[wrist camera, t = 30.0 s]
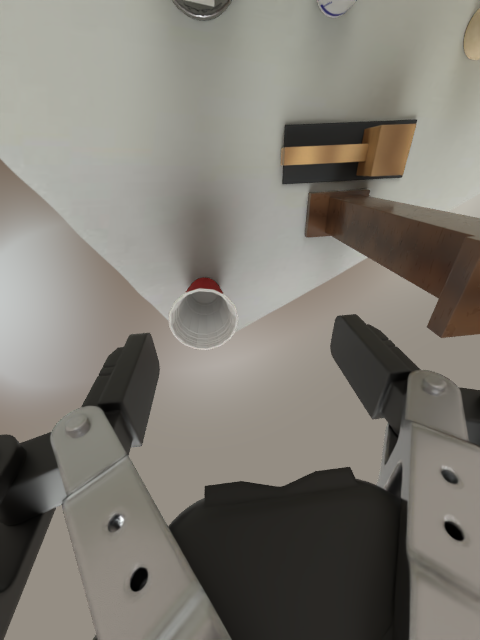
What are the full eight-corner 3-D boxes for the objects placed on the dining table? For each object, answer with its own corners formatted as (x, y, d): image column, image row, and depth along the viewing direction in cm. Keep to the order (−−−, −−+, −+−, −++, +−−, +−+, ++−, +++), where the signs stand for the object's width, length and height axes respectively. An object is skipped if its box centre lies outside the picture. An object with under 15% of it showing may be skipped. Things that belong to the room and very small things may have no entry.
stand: (308, 192, 41) (487, 242, 15) (366, 189, 42) (638, 231, 15) (304, 235, 45) (441, 338, 18) (357, 232, 46) (564, 325, 19)
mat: (284, 125, 36) (285, 125, 36) (415, 120, 37) (417, 119, 37) (282, 184, 40) (283, 184, 40) (400, 177, 41) (402, 177, 41)
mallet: (279, 179, 39) (287, 180, 36) (281, 132, 36) (289, 128, 32) (385, 173, 40) (403, 174, 37) (396, 127, 37) (416, 123, 34)
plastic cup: (240, 272, 47) (248, 301, 37) (223, 318, 52) (226, 355, 42) (183, 255, 45) (175, 282, 34) (171, 306, 50) (162, 342, 40)
